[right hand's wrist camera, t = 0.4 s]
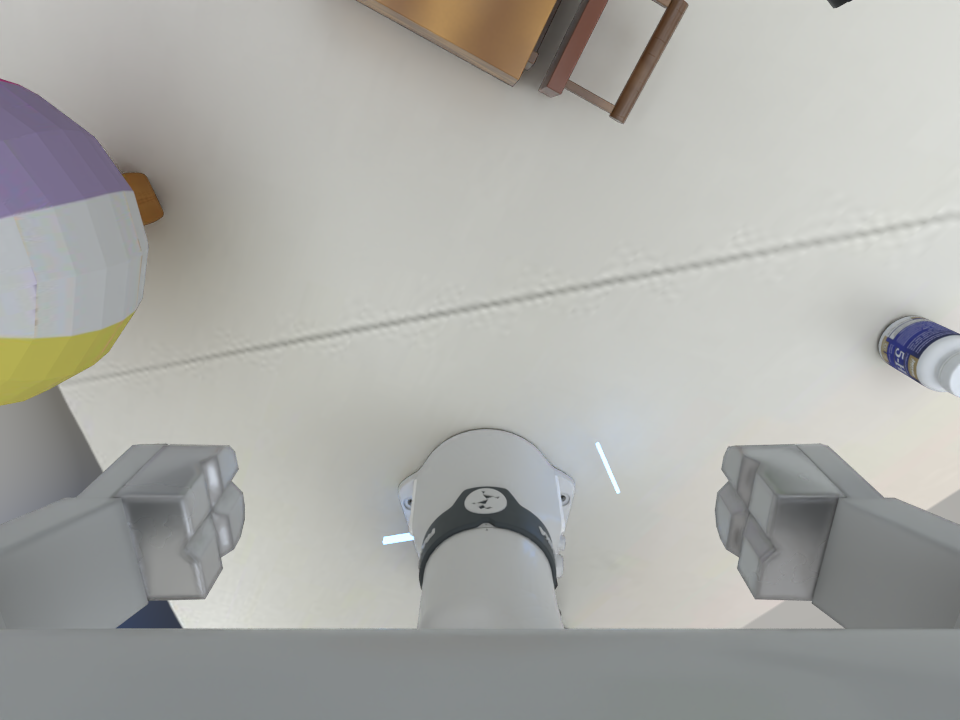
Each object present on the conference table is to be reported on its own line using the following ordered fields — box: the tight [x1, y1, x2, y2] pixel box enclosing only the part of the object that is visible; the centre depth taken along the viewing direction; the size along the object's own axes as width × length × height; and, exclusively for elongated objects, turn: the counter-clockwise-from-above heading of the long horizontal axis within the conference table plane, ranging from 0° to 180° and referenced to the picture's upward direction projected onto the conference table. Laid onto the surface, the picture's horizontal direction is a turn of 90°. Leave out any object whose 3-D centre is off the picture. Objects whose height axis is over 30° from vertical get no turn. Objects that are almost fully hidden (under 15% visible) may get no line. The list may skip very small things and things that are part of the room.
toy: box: [0, 79, 163, 406], centre depth 40 cm, size 20×20×30 cm
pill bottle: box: [879, 316, 960, 397], centre depth 55 cm, size 5×5×9 cm
